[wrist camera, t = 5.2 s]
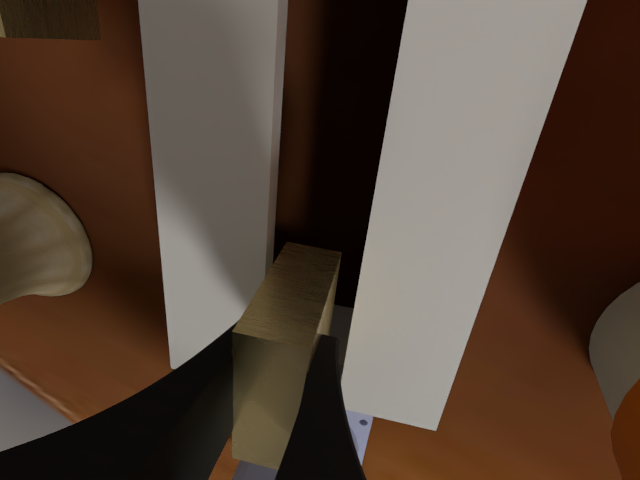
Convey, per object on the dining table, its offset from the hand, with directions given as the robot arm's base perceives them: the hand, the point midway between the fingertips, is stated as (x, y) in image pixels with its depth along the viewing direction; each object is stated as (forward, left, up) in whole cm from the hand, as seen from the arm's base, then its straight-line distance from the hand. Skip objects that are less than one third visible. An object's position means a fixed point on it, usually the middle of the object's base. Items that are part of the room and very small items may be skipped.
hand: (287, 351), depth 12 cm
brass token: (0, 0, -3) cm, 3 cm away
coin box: (+4, 0, -9) cm, 10 cm away
